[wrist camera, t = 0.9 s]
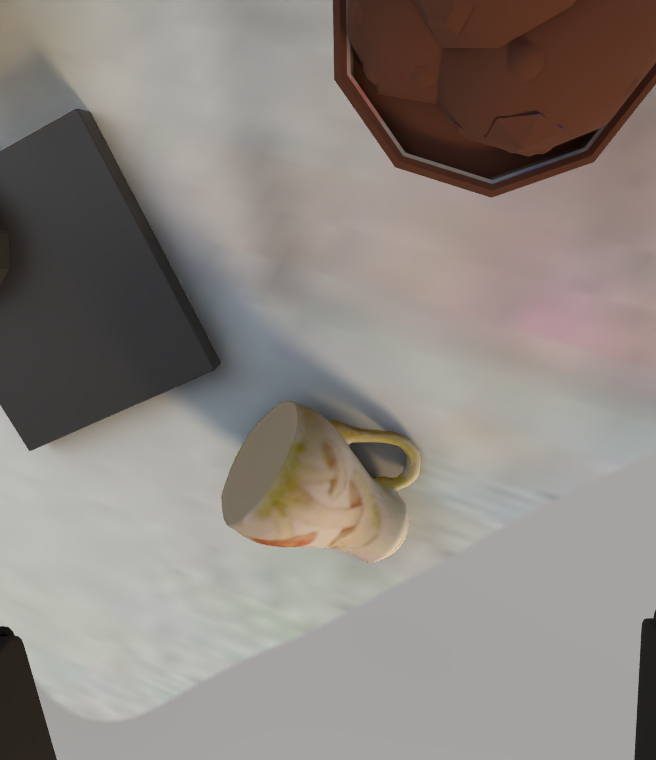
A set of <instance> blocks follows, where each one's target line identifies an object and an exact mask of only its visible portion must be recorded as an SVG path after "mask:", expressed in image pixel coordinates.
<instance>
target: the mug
mask: <svg viewBox="0 0 656 760" xmlns="http://www.w3.org/2000/svg"><path fill="white" fill-rule="evenodd" d="M354 442H380V443H389V444H393V445H396V446H399V447H400V448H401V449H402V450H403V451H404V452H405V454H406V458H407V463H406V466H405V468H404V470H403V472H402V473H401V474H400V475H399V476H398V477H396V478H388V477H377V478H372V477H371V476H370V475H369V474H368V472H367V471H366V470H365V468H364V467H363V466H362V464H361V463H360V461H359V460H358V458H357V457H356V456H355V454H354V453H353V452H352V450H351V449H350V447H349V445H350V444H351V443H354ZM420 465H421V457H420V453H419V450H418V448H417V447H416V446H415V445H414V444H413V443H412V442H411V441H410V439H408V438H406V437H404V436H402V435H400V434H398V433H394V432H390V431H378V430H367V429H360V428H355V427H351V426H348V425H345V424H342V423H340V422H338V421H334V420H332V421H327V420H326V419H325V418H324V417H323V416H321V415H320V414H318V413H317V412H315V411H313V410H311V409H309V408H307V407H304V406H302V405H299V404H297V403H294V402H291V401H290V402H282V403H280V404H278V405H277V406H276V407H275V408H273V409H272V410H271V411H270V412H269V413H268V414H267V415H266V416H265V417H264V418H263V419H262V420H261V421H260V422H259V423H258V424H257V425H256V426H255V428H254V429H253V430H252V431H251V432H250V434H249V435H248V437H247V439H246V440H245V442H244V443H243V445H242V446H241V448H240V451H239V452H238V454H237V456H236V458H235V460H234V463H233V465H232V467H231V469H230V472H229V475H228V477H227V480H226V483H225V486H224V489H223V492H222V497H221V498H222V511H223V517H224V520H225V522H226V524H227V525H228V526H229V527H230V528H232V529H234V530H235V531H237V532H238V533H240V534H241V535H243V536H244V537H246V538H248V539H250V540H252V541H254V542H257V543H260V544H265V545H270V546H278V547H322V548H333V549H337V550H341V551H344V552H346V553H349V554H351V555H353V556H355V557H357V558H359V559H361V560H364V561H366V562H367V563H374V562H377V561H379V560H382V559H384V558H386V557H388V556H390V555H391V554H393V553H394V552H395V551H397V549H398V548H399V547H400V546H401V545H402V543H403V542H404V540H405V538H406V535H407V533H408V527H409V517H408V513H407V509H406V505H405V503H404V501H403V500H402V498H401V497H400V496H399V495H398V493H397V492H398V491H399V490H400V489H402V488H405V487H407V486H410V485H412V483H413V482H414V481H415V480H416V478H417V477H418V475H419V472H420Z"/></svg>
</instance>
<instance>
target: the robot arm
mask: <svg viewBox="0 0 656 760" xmlns="http://www.w3.org/2000/svg"><path fill="white" fill-rule="evenodd" d="M636 725H637V726H636V742H635V760H656V611H655V614H654V618H653V619H652V618H650V619H644V621H643V623H642V632H641V650H640V669H639V687H638V705H637V724H636ZM0 760H57V759H56V755H55V752H54V749H53V745H52V742H51V738H50V735H49V731H48V728H47V724H46V721H45V717H44V714H43V710H42V707H41V704H40V700H39V696H38V693H37V689H36V686H35V682H34V679H33V675H32V672H31V669H30V665H29V662H28V658H27V655H26V651H25V648H24V644H23V642H22V640H21V638H19V637H18V636H15V635H14V633H13V631H12V630H11V629H10V628H9V627H4V626H1V627H0Z"/></svg>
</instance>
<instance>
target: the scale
mask: <svg viewBox="0 0 656 760" xmlns="http://www.w3.org/2000/svg"><path fill="white" fill-rule="evenodd" d="M219 364H220V360H219V358H218V357H217V355H216V353H215V351H214V349H213V347H212V345H211V343H210V341H209V339H208V337H207V335H206V334H205V332H204V330H203V328H202V326H201V324H200V322H199V320H198V318H197V316H196V314H195V312H194V310H193V309H192V307H191V305H190V303H189V301H188V299H187V297H186V295H185V293H184V291H183V289H182V287H181V285H180V284H179V282H178V280H177V278H176V276H175V274H174V272H173V270H172V268H171V266H170V264H169V262H168V261H167V259H166V257H165V255H164V253H163V251H162V249H161V247H160V245H159V243H158V241H157V239H156V237H155V236H154V234H153V232H152V230H151V228H150V226H149V224H148V222H147V220H146V218H145V216H144V214H143V212H142V211H141V209H140V207H139V205H138V203H137V201H136V199H135V197H134V195H133V193H132V191H131V189H130V187H129V186H128V184H127V182H126V180H125V178H124V176H123V174H122V172H121V170H120V168H119V166H118V164H117V163H116V161H115V159H114V157H113V155H112V153H111V151H110V149H109V147H108V145H107V143H106V141H105V139H104V138H103V136H102V134H101V132H100V130H99V128H98V126H97V124H96V122H95V120H94V118H93V116H92V114H91V113H90V112H89V111H85V110H81V109H75V110H73V111H71V112H70V113H68V114H66V115H64V116H63V117H61V118H59V119H57V120H55V121H54V122H52V123H50V124H48V125H47V126H45V127H43V128H41V129H39V130H38V131H36V132H34V133H32V134H31V135H29V136H27V137H25V138H23V139H22V140H20V141H18V142H16V143H15V144H13V145H11V146H9V147H7V148H6V149H4V150H2V151H0V405H1V406H2V408H3V410H4V411H5V413H6V414H7V416H8V418H9V419H10V421H11V422H12V424H13V426H14V427H15V429H16V430H17V432H18V434H19V435H20V437H21V438H22V440H23V442H24V443H25V445H26V446H27V448H28V449H29V451H31V450H34V449H36V448H38V447H41V446H43V445H45V444H47V443H50V442H52V441H54V440H57V439H59V438H61V437H63V436H66V435H68V434H70V433H72V432H75V431H77V430H79V429H82V428H84V427H86V426H88V425H91V424H93V423H95V422H98V421H100V420H102V419H104V418H107V417H109V416H111V415H114V414H116V413H118V412H120V411H123V410H125V409H127V408H129V407H132V406H134V405H136V404H139V403H141V402H143V401H145V400H148V399H150V398H152V397H155V396H157V395H159V394H161V393H164V392H166V391H168V390H170V389H173V388H175V387H177V386H180V385H182V384H184V383H186V382H189V381H191V380H193V379H196V378H198V377H200V376H202V375H205V374H207V373H209V372H211V371H214V370H215V369H216V368H217V366H218V365H219Z"/></svg>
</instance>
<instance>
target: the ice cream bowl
mask: <svg viewBox="0 0 656 760" xmlns="http://www.w3.org/2000/svg"><path fill="white" fill-rule="evenodd" d="M333 26H334V80H335V81H336V83H337V84H338V85H339V87H340V88H341V90H342V91H343V93H344V94H345V95H346V97H347V98H348V100H349V101H350V103H351V104H352V106H353V107H354V108H355V110H356V111H357V113H358V114H359V116H360V117H361V118H362V120H363V121H364V123H365V124H366V126H367V127H368V129H369V130H370V131H371V133H372V134H373V136H374V137H375V139H376V140H377V141H378V143H379V144H380V146H381V147H382V149H383V150H384V152H385V153H386V154H387V156H388V157H389V159H390V160H391V162H392V163H393V164H394V166H395V167H397V168H400V169H403V170H406V171H409V172H412V173H416V174H419V175H422V176H425V177H428V178H431V179H435V180H438V181H441V182H444V183H447V184H450V185H454V186H457V187H460V188H463V189H466V190H469V191H473V192H476V193H479V194H482V195H485V196H488V197H494V196H497V195H500V194H503V193H506V192H509V191H512V190H514V189H517V188H520V187H523V186H526V185H529V184H532V183H535V182H537V181H540V180H543V179H546V178H549V177H552V176H555V175H558V174H560V173H563V172H566V171H569V170H572V169H575V168H578V167H580V166H583V165H586V164H589V163H592V162H594V161H595V160H596V159H597V157H598V156H599V155H600V154H601V152H602V151H603V150H604V148H605V147H606V146H607V145H608V143H609V142H610V141H611V140H612V138H613V137H614V136H615V135H616V133H617V132H618V131H619V130H620V128H621V127H622V126H623V124H624V123H625V122H626V121H627V119H628V118H629V117H630V116H631V114H632V113H633V112H634V111H635V109H636V108H637V107H638V106H639V104H640V103H641V102H642V100H643V99H644V98H645V97H646V95H647V94H648V93H649V92H650V90H651V89H652V88H653V87H654V85H655V84H656V0H333Z"/></svg>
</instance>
